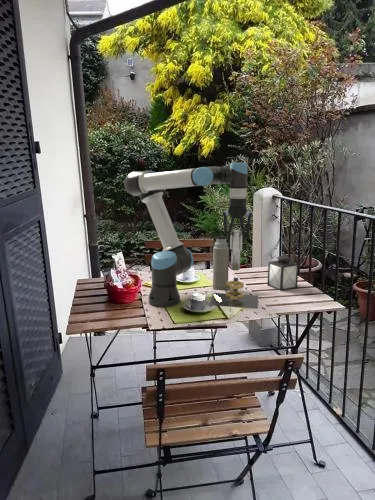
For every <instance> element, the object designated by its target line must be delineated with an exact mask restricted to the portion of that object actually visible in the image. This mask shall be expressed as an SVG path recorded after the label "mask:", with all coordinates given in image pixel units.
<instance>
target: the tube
mask: <svg viewBox="0 0 375 500" xmlns="http://www.w3.org/2000/svg"><path fill="white" fill-rule="evenodd" d="M231 234H232V249H231V261H230V270H231V271H240V270H241V269H240V268H241V267H240V266H241V250H240V240H241V235H242V230H238V229H234V230H233V229H232V231H231Z"/></svg>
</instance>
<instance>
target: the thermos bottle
mask: <svg viewBox="0 0 375 500" xmlns="http://www.w3.org/2000/svg"><path fill="white" fill-rule="evenodd" d="M228 245H229V243H228V241H227V236H225V235H217V236H216V241H215V242H214V246H213V251H212V252H213V254H212V256H213V257H212V264H213V265H212V272H213V273H212V290H214V291H226V292H227V290H229V288H227V287H226V282H229V261H230V260H229V258H230V256H229V255H230V246H228Z"/></svg>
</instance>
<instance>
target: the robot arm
mask: <svg viewBox="0 0 375 500" xmlns="http://www.w3.org/2000/svg"><path fill="white" fill-rule="evenodd" d="M229 165H230V166H215V165H213V166H201V167H196V168H186V169H178V170H171V171H162V172H161V171H160V172H156V171H152V170H144V171H141V170H140V171H132V172H130V173H128V175H126V177H125V179H124V189H125V191H126V192H127V193H128V194H129V195H131V196H134V197H139V198H140V201H141V202H142V203H144V204H145V205H146V207H147V210H148V213H149V216H150V218H151V220H152V223H153V225H154V227H155V230H156V233H157V235H158V238H159V241H160V242H161V245H162V247H163V249H162V251H158V252H156V253H154V254H153V255H152V256H151V261H150V264H151V265H150V266H151V289H150V292H149V295H148V303H149V304H150V305H152V306H154V307H155V306H156V307H172V306H176V305H178V304H179V303H181V296H180V292H179V289H178V286H177V276H179V275H181V274H184V273H187V271H189V270H190V269H191V268H192V266H193V264H194V256H193V253H192V251H190V249H188V248H186V247H185V243H183V242H182V241H180V240H179V237H178V234H177V233H176V230H175V228H174V224H173V221H172V220H171V217H170V215H169V212H168V209H167V207H166V205H165V202H164V200H163V195H164V191H163V190H168V189H170V190H171V189H178V188H189V187H190V188H191V187H199V186H200V187H201V186H202V187H204V186H207V185H208V186H209V185H216V184H218V185H219V184H222V185H223V184H225V185H229V203H228V209H227V210H224V211H223V212H222V216H223V233H224V234H226V235H227V243H228V242H229V250H232V231H233V226H234V222H235V219H238V220H239V223H240V229H241V230H240V231H241V240H240V251H242V250H243V243H245V242H246V236H247V235H249V234H250V230H251V229H250V227H251V218H252V216H253V212H252V211H249V210H247V192H248V187H247V186H248V163H246V162H231V163H230V164H229ZM228 215H230V217H231V219H230V223H229V227H228ZM245 215H246V216H247V219H246V228H245V224H244V217H245Z"/></svg>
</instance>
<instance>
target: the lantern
mask: <svg viewBox="0 0 375 500" xmlns="http://www.w3.org/2000/svg"><path fill="white" fill-rule="evenodd" d="M283 240H286V235H284V237H283ZM285 252H286V248H285V246H283V250H282V255H279V256H277V257H276V259H277V260H273V261H268V262H267V263H268V267H267V270H268V271H267V286H268V287H271V288H273V289H275V290H278V291H280V292H283V291H288V290H292V289H298V280H299V278H298V277H299V263H296V262H293V261H290V260H291V257H289V256H286V255H285V254H286V253H285Z"/></svg>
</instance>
